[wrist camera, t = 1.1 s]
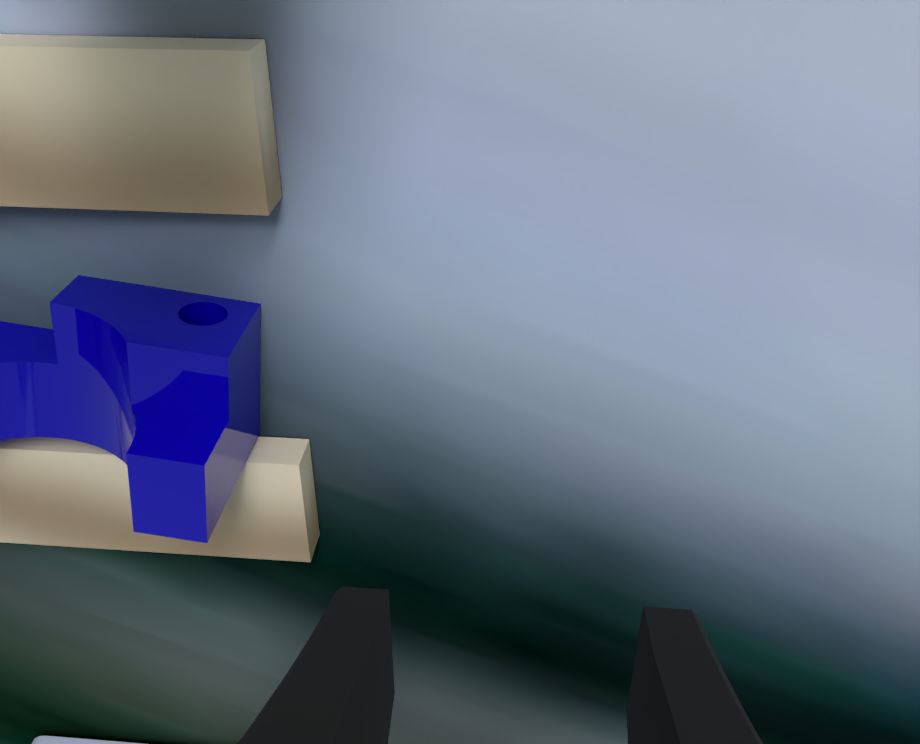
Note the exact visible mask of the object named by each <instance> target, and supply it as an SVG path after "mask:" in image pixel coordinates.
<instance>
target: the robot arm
mask: <svg viewBox="0 0 920 744" xmlns="http://www.w3.org/2000/svg"><path fill="white" fill-rule="evenodd" d="M393 700H394V675H393V658H392V640H391V623H390V606H389V590H384V589H369V588H354V587H342V588H341V589H339V590H338V591H337V592H335V594H334V596H333V597H332V599H331V601H330V603H329V605H328V607H327V609H326V611H325V612H324V614H323V616H322V618H321V619H320V621H319V623H318V625H317V626H316V628H315V630H314V631H313V633H312V635H311V636H310V638H309V640H308V641H307V643H306V645H305V646H304V648H303V649H302V651H301V653H300V654H299V656H298V657H297V659H296V660H295V662H294V663H293V665H292V667H291V668H290V670H289V671H288V673H287V674H286V676H285V677H284V679H283V680H282V682H281V683H280V685H279V686H278V688H277V689H276V690H275V692H274V693H273V695H272V696H271V698H270V699H269V701H268V702H267V703H266V705H265V706H264V708H263V709H262V711H261V712H260V714H259V715H258V716H257V718H256V719H255V721H254V722H253V724H252V725H251V726H250V728H249V729H248V730H247V732H246V733H245V735H244V736H243V737H242V738H241V740H240V741H239V742H238V744H388V737H389V730H390V722H391V715H392V707H393ZM627 729H628V744H763V743H762V741H761V739H760V738H759V736H758V734H757V732H756V731H755V729H754V727H753V725H752V724H751V722H750V720H749V718H748V716H747V715H746V713H745V711H744V709H743V707H742V705H741V703H740V702H739V700H738V698H737V696H736V694H735V692H734V690H733V688H732V686H731V684H730V682H729V681H728V679H727V677H726V675H725V673H724V671H723V669H722V667H721V665H720V663H719V661H718V658H717V656H716V654H715V652H714V650H713V648H712V646H711V644H710V641H709V639H708V637H707V635H706V633H705V630H704V628H703V626H702V623H701V621H700V619H699V617H698V616H697V615H696V614H695V613H694V612H693V611H692V610H686V609H671V608H655V607H643V612H642V618H641V624H640V630H639V637H638V643H637V649H636V655H635V661H634V668H633V674H632V680H631V686H630V693H629V699H628V705H627ZM32 744H147V743H134V742H122V741H110V740H97V739H85V738H73V737H60V736H48V735H44V736H38V737H36V738H35V739H34V741H33V742H32Z"/></svg>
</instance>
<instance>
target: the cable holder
mask: <svg viewBox="0 0 920 744" xmlns="http://www.w3.org/2000/svg"><path fill="white" fill-rule="evenodd" d="M50 309H51V316H52V323H53V330H52V329H46V328H39V327H33V326H27V325H20V324H14V323H8V322H1V321H0V440H6V439H14V438H25V437H52V438H63V439H70V440H76V441H80V442H84V443H88V444H91V445H94V446H97V447H99V448H102V449H104V450H106V451H108V452H110V453H112V454H114V455H115V456H117V457H118V458H119V459H121V460H122V461H123V462H124V463H125V464H127V469H128V479H129V490H130V500H131V510H132V521H133V531H134V532H138V533H144V534H151V535H157V536H164V537H170V538H176V539H183V540H189V541H196V542H202V543H208V541H209V539H210V537H211V534H212V532H213V530H214V528H215V526H216V524H217V522H218V520H219V518H220V516H221V513H222V511H223V509H224V507H225V505H226V503H227V501H228V499H229V497H230V495H231V493H232V490H233V488H234V486H235V484H236V482H237V480H238V478H239V476H240V474H241V472H242V469H243V467H244V465H245V463H246V461H247V459H248V457H249V455H250V453H251V451H252V449H253V446H254V444H255V442H256V440H257V438H258V436H259V434H260V349H261V304H259V303H252V302H246V301H240V300H233V299H227V298H221V297H214V296H208V295H201V294H195V293H189V292H182V291H176V290H170V289H163V288H157V287H150V286H144V285H138V284H131V283H125V282H119V281H112V280H106V279H99V278H93V277H87V276H80V275H78V276H77V277H76V278H75V279H74V280H73V281H72V282H71V283H70V284H69V285H68V286H67V287H66V288H65V289H63V290H62V291H61V292H60V293H59V294H58V295H57V296H56V297H55V298H54V299H53V300H52V301H51V302H50Z"/></svg>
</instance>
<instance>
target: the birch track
mask: <svg viewBox="0 0 920 744" xmlns="http://www.w3.org/2000/svg"><path fill="white" fill-rule="evenodd" d="M281 198H282V189H281V180H280V171H279V162H278V153H277V144H276V135H275V126H274V117H273V108H272V99H271V90H270V81H269V72H268V62H267V53H266V44H265V39H218V38H169V37H119V36H69V35H20V34H0V206H10V207H39V208H67V209H96V210H124V211H153V212H181V213H209V214H238V215H266V216H269V215H270V213H271V212H272V210H273V209H274V208H275V206H276V205H277V204H278V202H279V201H280V200H281ZM319 535H320V532H319V523H318V514H317V505H316V496H315V487H314V478H313V469H312V460H311V451H310V442H309V439H296V438H277V437H259V436H258V438H257V440H256V442H255V444H254V446H253V449H252V451H251V453H250V455H249V457H248V459H247V461H246V463H245V465H244V467H243V469H242V472H241V474H240V476H239V478H238V480H237V482H236V484H235V486H234V488H233V490H232V493H231V495H230V497H229V499H228V501H227V503H226V505H225V507H224V509H223V511H222V513H221V516H220V518H219V520H218V522H217V524H216V526H215V528H214V530H213V532H212V534H211V537H210V539H209V541H208V543H202V542H196V541H189V540H183V539H176V538H170V537H164V536H157V535H151V534H144V533H138V532H134V531H133V521H132V510H131V500H130V490H129V479H128V469H127V464H125V463H124V462H123V461H122V460H121V459H119V458H118V457H117V456H115V455H114V454H112V453H110V452H108V451H106V450H104V449H102V448H99V447H97V446H94V445H91V444H88V443H84V442H80V441H76V440H70V439H63V438H52V437H25V438H14V439H6V440H0V542H4V543H20V544H35V545H51V546H66V547H82V548H97V549H113V550H128V551H144V552H159V553H175V554H190V555H206V556H222V557H237V558H253V559H268V560H284V561H299V562H311V560H312V556H313V553H314V550H315V547H316V544H317V541H318V538H319Z"/></svg>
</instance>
